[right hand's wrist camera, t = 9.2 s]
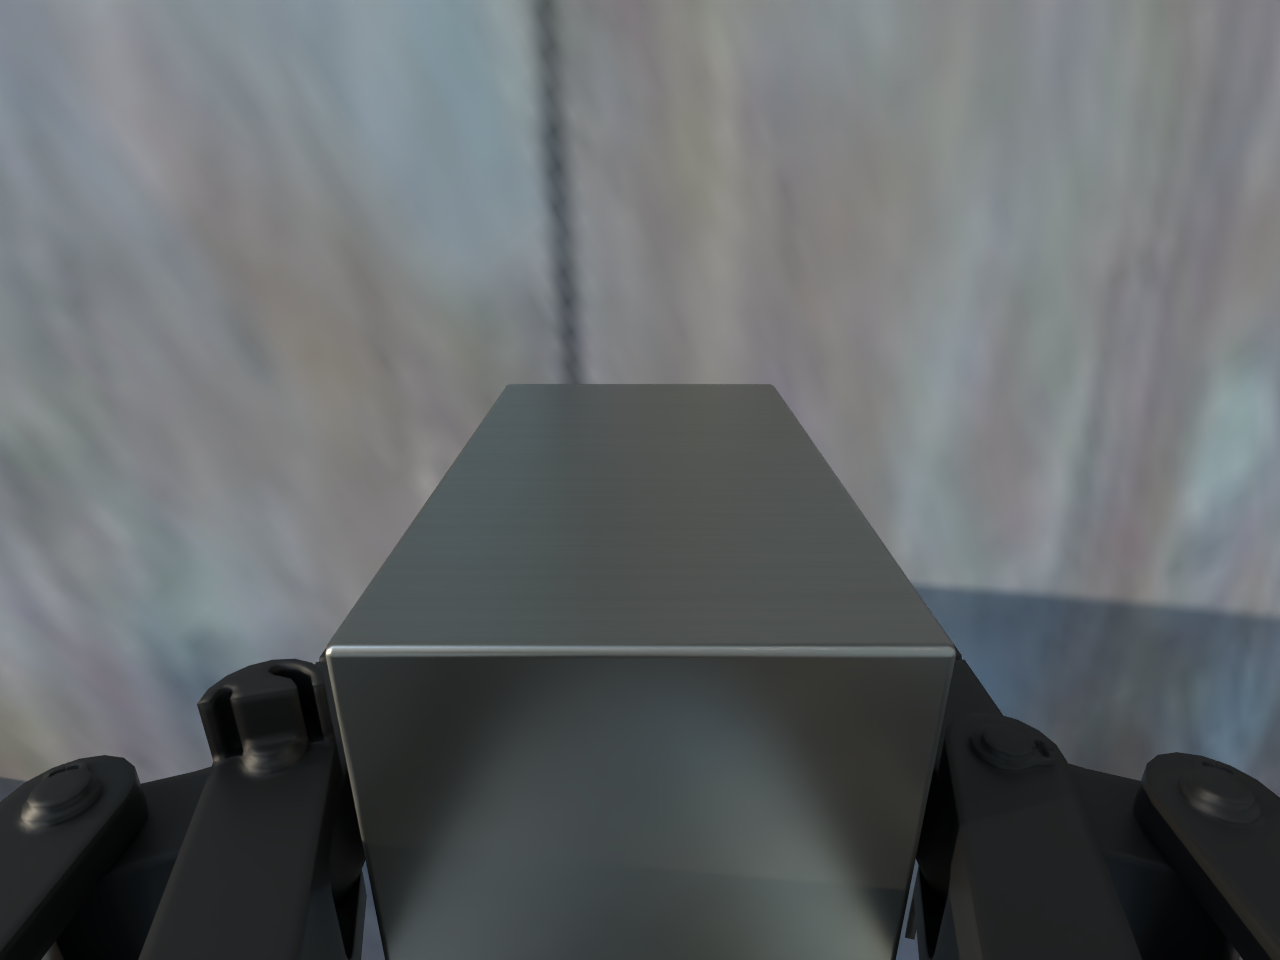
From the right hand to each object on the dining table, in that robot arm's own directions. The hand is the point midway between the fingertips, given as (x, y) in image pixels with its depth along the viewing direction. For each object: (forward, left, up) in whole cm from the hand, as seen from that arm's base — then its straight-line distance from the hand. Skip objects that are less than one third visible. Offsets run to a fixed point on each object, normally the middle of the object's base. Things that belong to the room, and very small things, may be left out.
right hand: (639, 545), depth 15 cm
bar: (+4, +7, -1) cm, 8 cm away
